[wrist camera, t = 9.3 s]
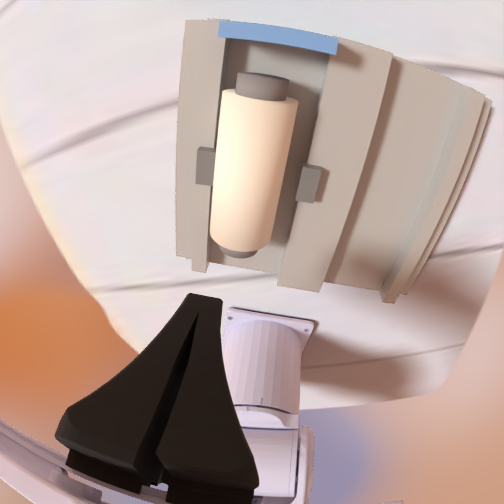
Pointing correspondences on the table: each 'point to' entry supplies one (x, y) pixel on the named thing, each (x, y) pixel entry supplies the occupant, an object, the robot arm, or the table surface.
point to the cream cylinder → (250, 162)
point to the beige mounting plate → (330, 155)
